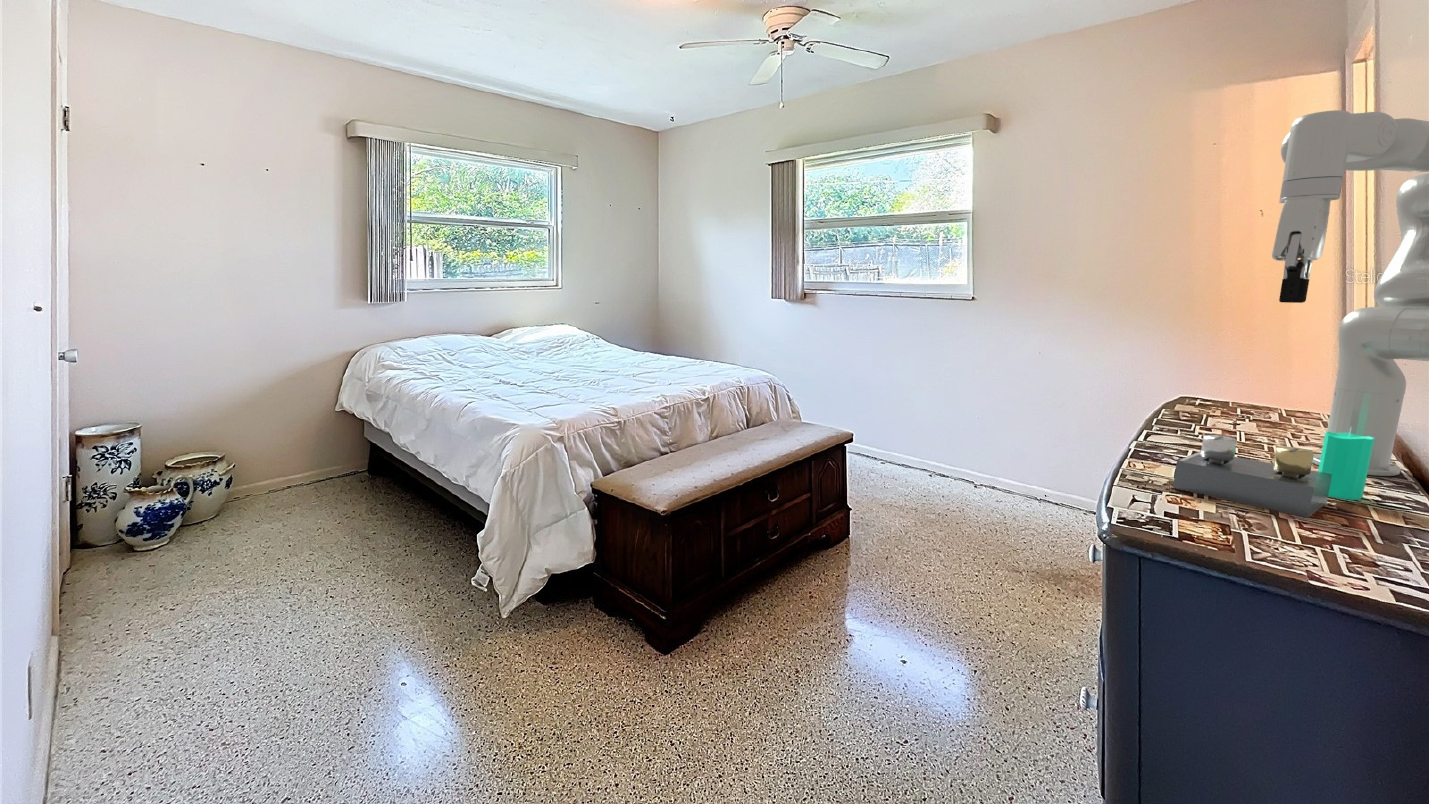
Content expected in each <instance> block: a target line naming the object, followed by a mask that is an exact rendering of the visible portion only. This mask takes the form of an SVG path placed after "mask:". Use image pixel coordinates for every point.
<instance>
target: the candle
mask: <svg viewBox="0 0 1429 804" xmlns="http://www.w3.org/2000/svg"><path fill="white" fill-rule="evenodd" d="M1351 428H1352V427H1350V432H1349V433H1333V432H1327V431H1326V432H1325V433H1324V437H1323V444H1322V447H1321V448H1322V449H1321V452H1320V454H1321V458H1320V463H1319V465H1318V472H1324V473H1329V474H1332V478H1331V484H1330V489H1329V494H1328V497H1331V498H1336V499H1341V500H1351V501H1354V500H1355V501H1357V500H1359V501H1360V500H1361V498H1362V499H1363V497H1364V492H1365V487H1366V482H1367V477H1368V475H1367V473H1368V468H1369V463H1370V458H1371V453H1372V448H1373V443H1374V438H1373V437H1369V436H1357V435H1354V434H1351Z"/></svg>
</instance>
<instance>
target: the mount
mask: <svg viewBox="0 0 1429 804" xmlns="http://www.w3.org/2000/svg"><path fill="white" fill-rule="evenodd" d="M1273 463H1274V462H1273ZM1273 463H1272V462H1267V461H1262V460H1261V461H1260V460H1255V459H1250V458H1249V459H1248V458H1245V457H1244V458H1243V457H1239V456H1234V460H1232V461H1224V462H1223V464H1221V463H1215V462H1210V461H1209V458H1205V457H1202V456H1201V450H1200V451H1197V452H1195V453H1192V454H1191V455H1188V456H1186V457H1183V458H1180V459H1179V460H1176V463H1175V464H1176V465H1175V473H1174V478H1173V485H1172V486H1173V487H1172V489H1175V488H1176V489H1175V490H1179V489H1180V490H1179V491H1184V490H1185V492H1188V491H1190V492H1189V493H1193V492H1194V494H1196V495H1197V494H1198V495H1202V494H1204V495H1203V496H1206V495H1207V497H1211V498H1216V499H1220V500H1225V501H1229V502H1234V503H1239V504H1243V505H1247V506H1252V507H1256V508H1262V509H1265V510H1270V511H1274V512H1279V513H1282V514H1287V515H1292V516H1296V517H1302V518H1304V519H1305V518H1306V519H1309V518H1310V517H1311V516H1312V515H1314V514H1315V513H1316V512H1318V511H1319V510H1320V509H1321V508H1322V507H1324V506H1325V505H1326V504H1327V503H1328V499H1329V496H1328V494H1329V489H1330V484H1331V478H1332V474H1329V473H1324V472H1318V471H1317V470H1312V469H1311V472H1310V474H1308V475H1299V476H1298V478H1296V477H1290V476H1285V475H1282V472H1280V471H1277V470H1274V469H1273Z"/></svg>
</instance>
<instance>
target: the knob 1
mask: <svg viewBox="0 0 1429 804" xmlns="http://www.w3.org/2000/svg"><path fill="white" fill-rule="evenodd" d="M1201 443H1202V444H1201V449H1200V451H1201V456H1202V457H1205V458H1209V461H1210V462H1215V463H1221V464H1223V462H1224V461H1232V460H1234V457H1235V453H1236V447H1237V446H1236V445H1237V439H1236V438H1234V437H1230V436H1226V435H1219V434H1218V435H1217V434H1205V435H1203V437H1202V442H1201Z"/></svg>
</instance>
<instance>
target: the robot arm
mask: <svg viewBox="0 0 1429 804" xmlns="http://www.w3.org/2000/svg"><path fill="white" fill-rule="evenodd" d="M1280 155H1281V159H1282V161H1283V163H1284V170H1283V177H1282V182H1281V187H1280V189H1281V190H1280V196H1279V201H1278V203H1280V204H1283V206H1282V209H1281V212H1280V217H1279V219H1278V220H1279V221H1278V225H1277V230H1276V234H1275V237H1274V238H1275V240H1274V244H1273V249H1272V253H1271V257H1272V259H1273V260H1274V261H1276V262H1277V261H1281V262H1284V267H1283V277H1282V281H1281V287H1280V294H1279V299H1278V301H1279V303H1286V304H1287V303H1288V304H1290V303H1291V304H1292V303H1294V304H1295V303H1297V304H1298V303H1299V304H1302V303H1305V302H1306V301H1307V296H1308V290H1309V284H1310V274H1311V271H1312V266H1313V261H1317V260H1318V259H1321V257H1322V256H1323V252H1324V248H1325V242H1326V236H1327V232H1328V231H1327V230H1328V224H1329V217H1330V210H1331V201H1337V200H1340V198H1341V193H1342V188H1343V187H1342V186H1343V182H1344V176H1345V171H1349V172H1350V171H1355V172H1356V171H1357V172H1359V171H1361V172H1362V171H1363V172H1364V171H1397V172H1409V173H1410V172H1411V173H1423V174H1420V175H1416V176H1413V177H1411V178H1409V179H1407V180H1405V182H1403V184H1402V185H1401V186H1400V187H1399V189H1398V192H1397V194H1396V197H1395V198H1396V199H1395V203H1396V212H1397V219H1398V224H1399V225H1398V226H1399V230H1400V243H1399V245H1398V248H1397V249H1396V251H1395V253H1394V255H1393V256H1392V258H1391V260H1390V261H1389V263H1388V264H1387V266H1386V268H1385V270H1384V271H1383V273H1382V274H1381V276H1380V278H1379V280H1378V282H1377V283H1376V286H1375V288H1374V292H1373V298H1374V301H1375V302H1376V303H1377V304H1378V305H1379V306H1370V307H1362V308H1359V309H1355V310H1353V311H1350V312H1349V313H1348V314H1346V315H1345V316H1344V317H1343V319H1342V320H1341V322H1340V323H1339V328H1338V352H1339V355H1338V356H1339V361H1338V369H1337V373H1336V374H1337V375H1336V381H1335V387H1334V393H1333V397H1332V402H1331V408H1330V414H1329V418H1328V423H1327V429H1326V432H1333V433H1349V432H1350V427H1352V428H1351V434H1354V435H1357V436H1369V437H1373V438H1374V443H1373V448H1372V453H1371V458H1370V463H1369V468H1368V473H1367V476H1374V477H1375V476H1377V477H1394V476H1398V475H1400V474H1401V467H1400V466H1398V465H1396V464H1393V463H1391V459H1392V455H1393V449H1394V446H1395V441H1396V435H1397V430H1398V427H1399V421H1400V416H1401V412H1402V411H1401V410H1402V407H1403V402H1404V397H1405V394H1406V388H1407V379H1406V376H1405V374H1404V372H1403V371H1402V369H1401V368H1400V366H1399V365H1398V364H1397V363H1396V360H1407V361H1419V362H1422V361H1423V362H1429V121H1428V120H1421V119H1416V118H1409V117H1408V118H1406V117H1405V118H1403V117H1402V118H1393V117H1392V116H1391V115H1390V114H1388V113H1385V112H1381V111H1367V112H1357V113H1355V112H1354V113H1351V112H1349V111H1347V110H1339V109H1338V110H1336V109H1335V110H1325V111H1317V112H1311V113H1308V114H1305V115H1302V116H1299V117H1297V119H1295V120H1294V121H1293V122H1292V124H1291V126H1290V131H1289V132H1288V133H1287V135H1286V136H1285V138H1284V139H1283V141H1282V143H1281V147H1280ZM1427 172H1428V173H1427ZM1320 458H1321V453H1314V456H1313V461H1312V464H1314V465H1317V466H1319V463H1320Z"/></svg>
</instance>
